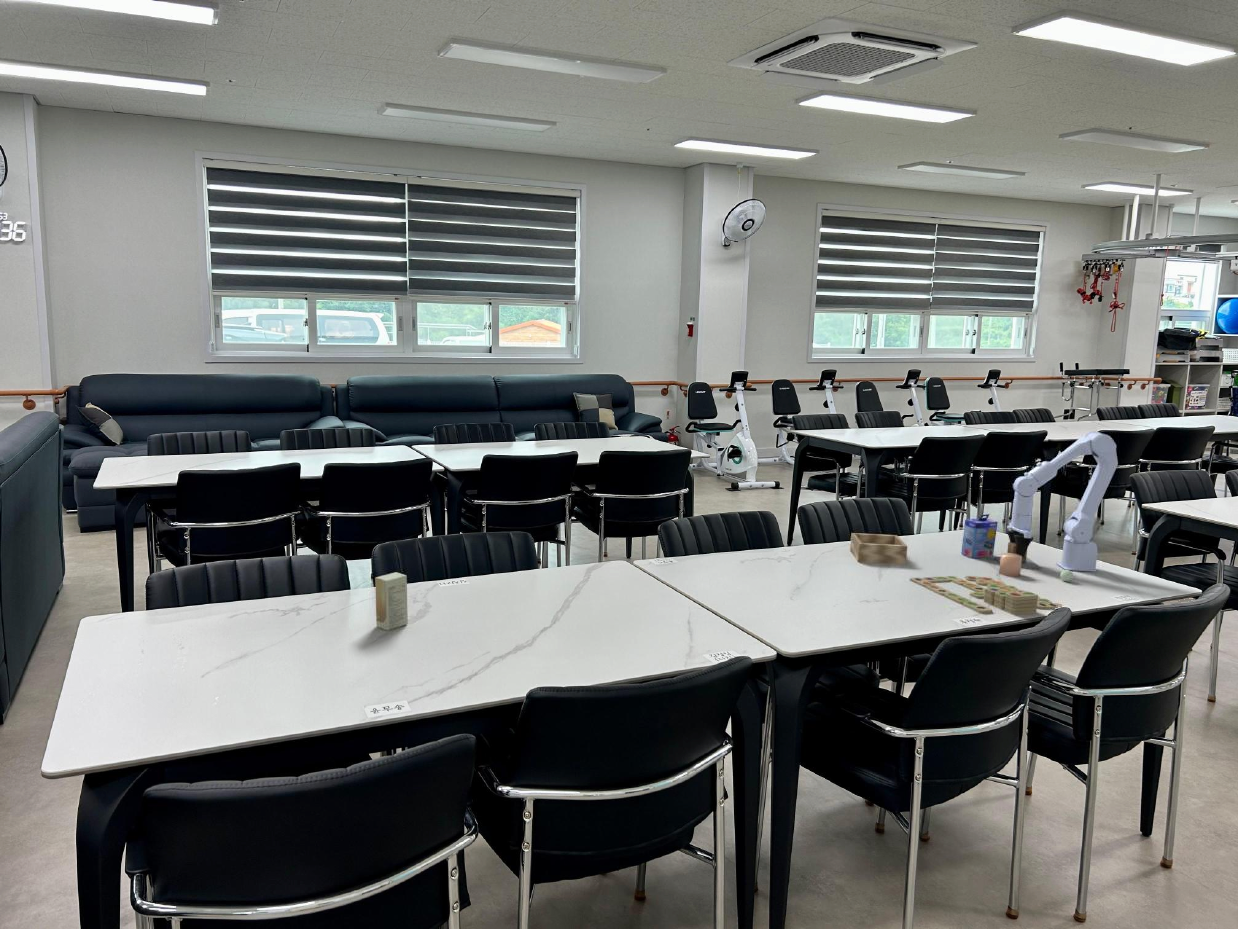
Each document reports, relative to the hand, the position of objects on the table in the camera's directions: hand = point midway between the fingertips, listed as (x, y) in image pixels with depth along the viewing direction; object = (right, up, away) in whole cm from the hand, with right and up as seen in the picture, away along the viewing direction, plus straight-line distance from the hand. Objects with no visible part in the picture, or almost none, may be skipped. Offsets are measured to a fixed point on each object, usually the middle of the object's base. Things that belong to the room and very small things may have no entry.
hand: (1017, 554), depth 286 cm
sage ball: (+6, -6, -19) cm, 21 cm away
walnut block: (0, -2, 0) cm, 2 cm away
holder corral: (-45, -1, +2) cm, 45 cm away
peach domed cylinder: (-8, -5, -13) cm, 16 cm away
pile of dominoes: (-25, -8, -35) cm, 44 cm away
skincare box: (-184, -9, -77) cm, 200 cm away
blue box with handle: (-9, -1, +9) cm, 13 cm away
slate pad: (0, -3, 0) cm, 3 cm away
